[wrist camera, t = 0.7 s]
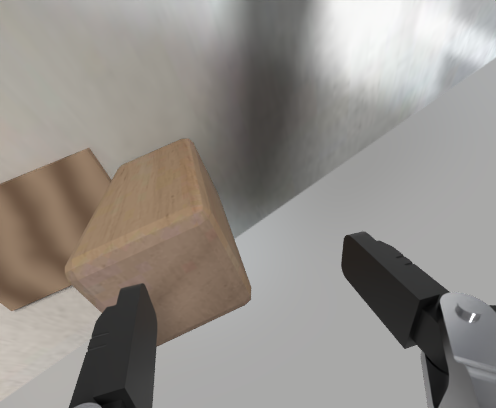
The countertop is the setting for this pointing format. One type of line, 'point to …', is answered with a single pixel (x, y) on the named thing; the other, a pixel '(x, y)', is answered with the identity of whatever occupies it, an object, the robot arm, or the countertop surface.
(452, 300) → the robot arm
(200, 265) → the block
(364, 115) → the countertop surface
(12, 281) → the cutting board
